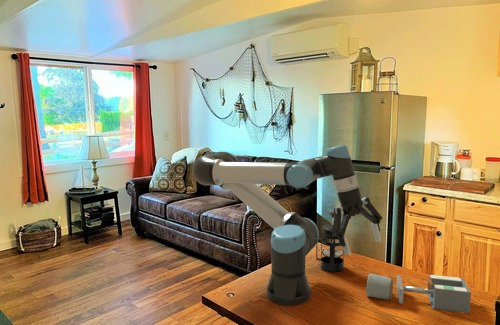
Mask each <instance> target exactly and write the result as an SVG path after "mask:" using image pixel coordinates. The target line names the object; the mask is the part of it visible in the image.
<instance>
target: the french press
mask: <svg viewBox="0 0 500 325" xmlns="http://www.w3.org/2000/svg"><path fill="white" fill-rule="evenodd" d="M327 215H329V216H331V219H332V222H331V224H329V223H328V224H323V225H322V226H321V227H320V228H321V230H322V234H323V235H324V236H322V237H319V238H318V241H321V243H320V244H321V245H320V246H321V247H320V252H321V253H320V257H318V246H319V244H318V241H317V243H316V245H315V247H316V252H315V257H316V258H315V260H316V261H319V262H320V269H321V270H322V271H325V272H326V273H334V274H335V273H341V272H343V271H344V270H345V265H344V264H345V258H344V257H345V254H344V250H343V249H342V250H339V249H336V247H342V246H341V245H340V242H336V240H338V241H339V239H338V237H333V236H332V231H333V223H334V215H335V214H334V211H329V212H327ZM324 240H330V242H327V241H324ZM323 245H324V246H327V247H329V248H326V249H323Z"/></svg>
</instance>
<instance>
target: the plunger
mask: <svg viewBox="0 0 500 325" xmlns="http://www.w3.org/2000/svg"><path fill="white" fill-rule="evenodd" d="M431 286H433V283H432V280H431V277H430V276H428V277H427V287H417V286H410V285H403V280H402V275H400V274H396V292H397V298H398V303H399V304H404V292H407V293H416V294H424V295H428V294H431V295H433V293H434V289H431Z"/></svg>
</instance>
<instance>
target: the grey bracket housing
mask: <svg viewBox="0 0 500 325" xmlns="http://www.w3.org/2000/svg"><path fill="white" fill-rule="evenodd" d="M429 277H431V280H432V283H433V286H431V289H434V293H433V295H431V294H427V297H428V300H429V303H430V305H431V309H432V310H437V311H445V312H451V311H452V312H453V313H459V312H464V313H463V314H467V313H471V300H472V299H471V297H472V296H471V295H472V292H471V289H470V288H469V286H468V285H467V283H466V281H465V280H464V278H461V277H457V276H456V277H455V276H447V275H435V274H430V275H429Z"/></svg>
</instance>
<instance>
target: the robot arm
mask: <svg viewBox="0 0 500 325" xmlns="http://www.w3.org/2000/svg"><path fill="white" fill-rule="evenodd" d="M352 161H353V160H352V157H351V155H350V152H349V148H348V147H347V145H346V144H340V145H336V146H332V147H329V148H327V149H326V150H325V154H324V155H320V156H317V157H312V158H307V159H303V160H300V161H298V162H258V161H257V162H255V161H254V162H251V161H250V162H249V161H246V162H244V161H243V162H242V161H241V162H240V161H239V160H238V158H237V157H236V155H234V154H233V153H231V152H229V151H217V152H214V153H210V154H209V153H208V154H205V155H201V156H200V157H197V159H196V160H195V161H194V163H193V165H192V169H191V170H192V175H193V176H192V177H193V178H194V180H195V181H196V182H198V183H199V184H200V185H203V186H218V187H219V188H221V189H222V190H223V191H228V190H229V191H230V192H231V193H232V194H233V195H235V196H236V197H237V198H238V199H239V200H240V201H241V202H243V203H244V204H245V205H246V206H247V207H248V208H249V209H250V210H252V211H253V212H254V213H255V214H256V215H257V216H259V217H260V218H261V219H262V220H263V221H264V222H265V223H266V224H268V225H269V226H270V227H271V228H273V231H272V232H271V234H270V235H271V238H270V248H271V249H270V258H271V260H270V262H271V265H270V266H271V274H270V276H269V281H268V284H267V286H266V296H267V299H268V300H270V301H271V302H273V303H275V304H278V305H282V306H299V305H302V304H305V303H306V302H308V301H309V300H310V298H311V287H310V284H309V280H308V278H307V275H306V256H308V254H309V253H310V252H311V251H312V250H313V249H314V247H316V243H317V241H319V240H318V238H320V237H319V236H320V231H319V229H318V226H317V224H316V223H315V222H314V221H313V220H311V219H310V218H307V217H302V216H300V215H299V214H298V213H297V212H294V211H291V212H290V211H288V210H287V209H286V208H284V207H283V206H282V205H281V204H280V203H279V202H277V200H275V199H274V198H273V197H271V195H269V194H268V193H267V192H266V191H265V190H263V189H262V188H261V187H260V186H259V185H272V186H273V185H275V186H277V185H280V186H291V187H293V188H296V189H302V188H305V187H307V186H309V185H310V184H311V183H313V182H315V181H316V180H318V179H321V178H322V179H323V178H326V177H331V176H332V179H333V183H334V186H335V190H336V191H337V197H338V201H339V203H340V207H334V208H333V212H334V214H335V215H334V218H333V231H332V236H333V237H338V239H339V240H338V241H339V242H338V243H340V245H341V246H340V247H342V251H343V250H344V256H349V257H350V256H352V253H351V250H350V245H349V241H348V238H347V236H345V234H346V232H347V228H348V225H349V222H350V220H351V218H352V217H354V216H356V215H362V216H363V217H364V218H366V219H367V220H368V221H369V222H371V223H370V227H371V231H372V234H373V239H374V242H375V243H376V242H377V243H382V242H383V241H382V237H381V233H380V232H381V228H380V223H381V221H382V220H383V216H382V215H381V214H380V213H379V212H378V210H377V209H376V207H374V205H373V203H371V200H370V198H369V197H368V196H367V197H362V195H361V191H360V188H359V187H358V185H359V184H358V180H357V176H356V174H355V170H354V166H353V162H352ZM363 205H364V207H365V208H366V209H365V208H364V207H363ZM367 210H368V211H367Z"/></svg>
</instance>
